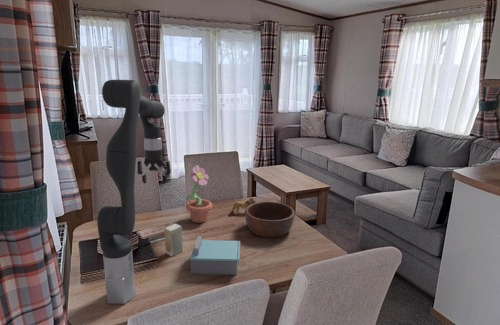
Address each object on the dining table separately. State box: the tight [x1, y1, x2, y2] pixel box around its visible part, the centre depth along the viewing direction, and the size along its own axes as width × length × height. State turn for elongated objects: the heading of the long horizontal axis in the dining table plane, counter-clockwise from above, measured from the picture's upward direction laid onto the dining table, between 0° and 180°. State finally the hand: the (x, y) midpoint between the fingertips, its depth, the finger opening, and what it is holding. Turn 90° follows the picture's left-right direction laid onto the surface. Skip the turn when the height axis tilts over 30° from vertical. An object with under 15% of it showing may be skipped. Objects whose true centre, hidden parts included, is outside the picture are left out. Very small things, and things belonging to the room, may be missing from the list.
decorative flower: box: [185, 164, 213, 224], centre depth 176 cm, size 15×14×30 cm
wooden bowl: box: [244, 201, 296, 239], centre depth 171 cm, size 25×25×10 cm
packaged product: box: [135, 223, 172, 245], centre depth 160 cm, size 18×5×10 cm
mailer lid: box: [189, 235, 241, 266], centre depth 137 cm, size 15×19×5 cm
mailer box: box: [189, 252, 238, 276], centre depth 139 cm, size 14×18×6 cm
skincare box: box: [164, 223, 184, 257], centre depth 146 cm, size 6×4×12 cm
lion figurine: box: [230, 196, 257, 215], centre depth 190 cm, size 15×5×9 cm, turn 103°
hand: (154, 183), depth 152 cm, fingers open, 8 cm apart
